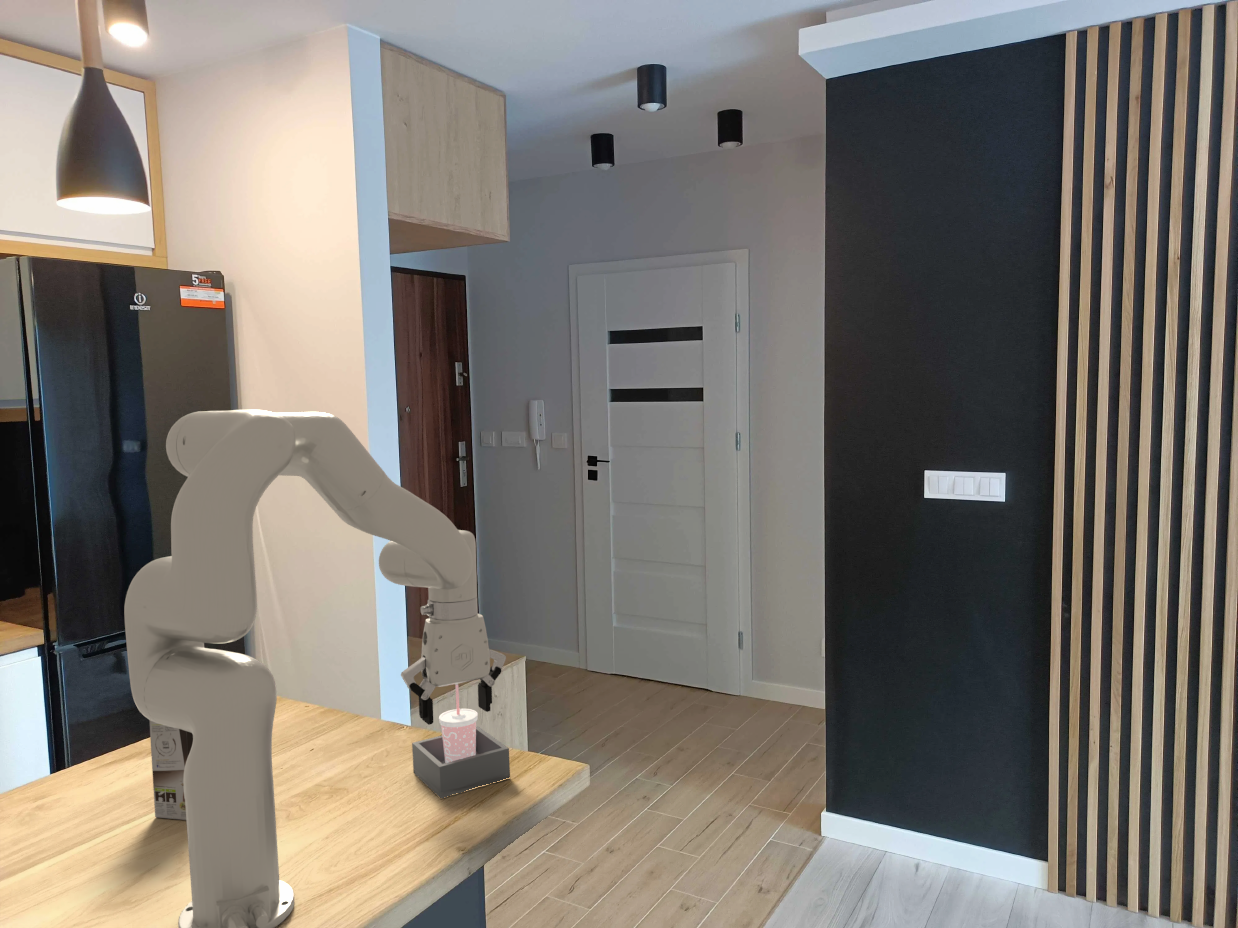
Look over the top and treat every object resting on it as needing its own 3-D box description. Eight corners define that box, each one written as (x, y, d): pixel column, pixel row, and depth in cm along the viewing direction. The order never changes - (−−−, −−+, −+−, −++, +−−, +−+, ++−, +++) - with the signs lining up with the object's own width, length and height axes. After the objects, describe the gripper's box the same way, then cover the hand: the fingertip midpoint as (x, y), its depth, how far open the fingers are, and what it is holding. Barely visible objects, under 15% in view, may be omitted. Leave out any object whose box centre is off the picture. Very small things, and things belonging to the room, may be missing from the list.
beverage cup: (434, 769, 142) (430, 684, 141) (468, 758, 146) (464, 675, 144) (452, 781, 137) (448, 693, 136) (487, 770, 141) (483, 684, 140)
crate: (510, 778, 140) (508, 748, 139) (440, 798, 133) (439, 766, 133) (479, 754, 150) (478, 726, 149) (413, 772, 143) (412, 742, 143)
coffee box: (192, 821, 129) (184, 713, 127) (153, 818, 130) (145, 711, 129) (231, 793, 138) (225, 692, 136) (195, 790, 139) (188, 690, 138)
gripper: (408, 621, 131) (412, 734, 132) (513, 605, 141) (516, 710, 142) (391, 612, 138) (395, 720, 139) (493, 597, 147) (495, 698, 148)
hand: (456, 715), depth 140 cm, fingers open, 9 cm apart
